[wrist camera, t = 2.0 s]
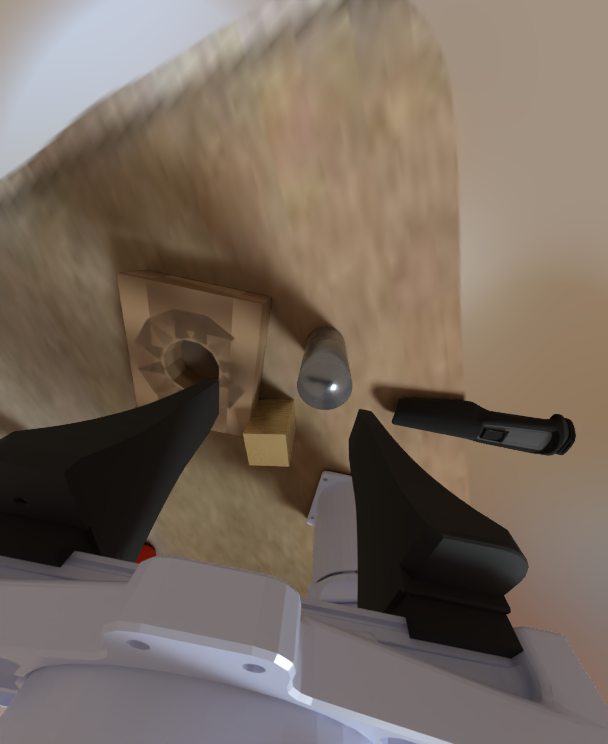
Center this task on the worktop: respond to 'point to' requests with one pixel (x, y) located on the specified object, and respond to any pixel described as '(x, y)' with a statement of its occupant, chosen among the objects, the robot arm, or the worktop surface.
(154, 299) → the socket block
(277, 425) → the square bar
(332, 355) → the round peg
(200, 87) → the worktop surface
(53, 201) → the worktop surface
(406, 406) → the electric trimmer
